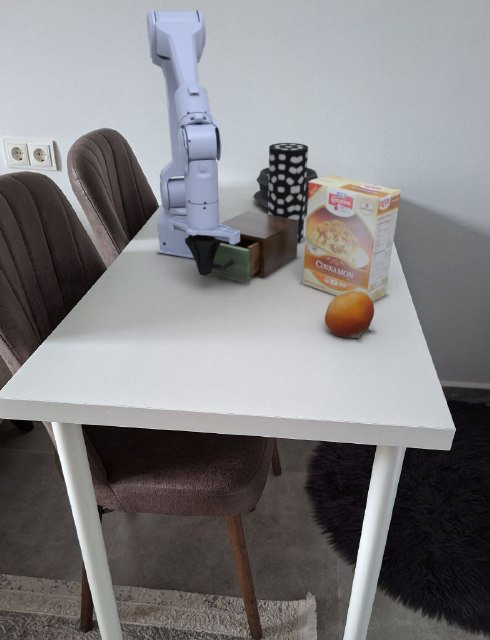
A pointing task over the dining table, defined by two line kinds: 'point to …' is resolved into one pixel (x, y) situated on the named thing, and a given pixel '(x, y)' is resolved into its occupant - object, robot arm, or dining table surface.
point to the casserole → (264, 180)
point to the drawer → (238, 260)
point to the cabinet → (268, 238)
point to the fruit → (350, 314)
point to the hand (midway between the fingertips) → (205, 273)
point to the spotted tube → (288, 182)
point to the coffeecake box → (349, 236)
